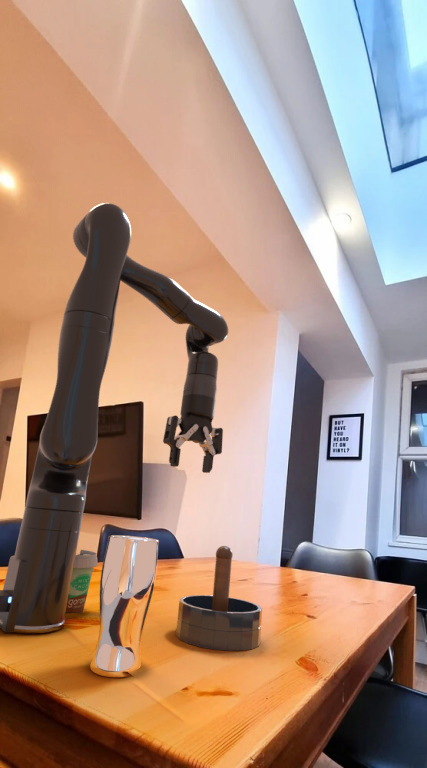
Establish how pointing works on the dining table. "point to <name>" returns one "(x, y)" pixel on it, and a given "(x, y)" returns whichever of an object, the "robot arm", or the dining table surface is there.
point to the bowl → (219, 624)
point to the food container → (81, 581)
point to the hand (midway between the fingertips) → (190, 469)
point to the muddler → (222, 579)
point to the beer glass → (124, 603)
